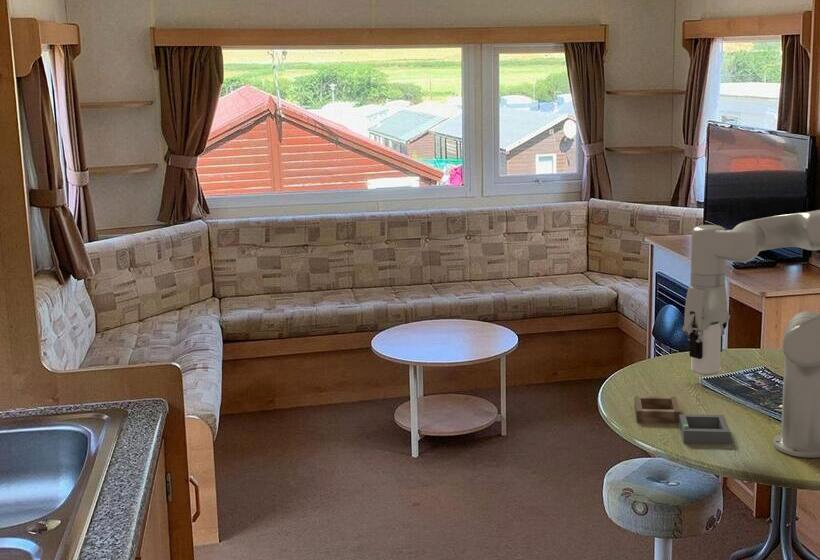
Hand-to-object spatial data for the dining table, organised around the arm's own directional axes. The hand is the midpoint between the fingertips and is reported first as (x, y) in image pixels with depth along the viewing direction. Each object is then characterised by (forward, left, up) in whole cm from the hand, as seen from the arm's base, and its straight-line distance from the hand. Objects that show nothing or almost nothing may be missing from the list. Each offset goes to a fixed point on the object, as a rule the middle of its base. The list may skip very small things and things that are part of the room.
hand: (705, 353), depth 220 cm
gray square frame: (0, 0, -20) cm, 20 cm away
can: (0, 0, -4) cm, 4 cm away
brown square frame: (+10, -12, -20) cm, 26 cm away
